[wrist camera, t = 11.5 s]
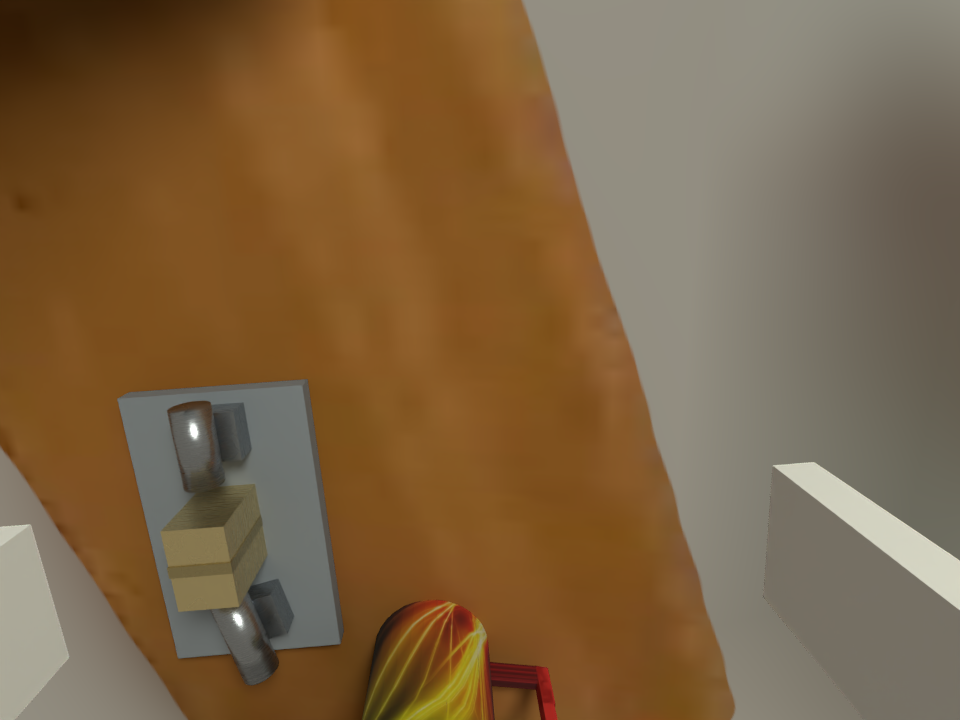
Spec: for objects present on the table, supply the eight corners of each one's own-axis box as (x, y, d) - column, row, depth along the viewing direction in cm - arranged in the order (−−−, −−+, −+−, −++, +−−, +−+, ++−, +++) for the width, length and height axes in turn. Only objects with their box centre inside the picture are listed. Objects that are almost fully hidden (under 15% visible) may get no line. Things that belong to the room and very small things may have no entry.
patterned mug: (547, 664, 49) (577, 803, 38) (396, 707, 49) (379, 858, 38) (518, 572, 47) (540, 689, 35) (359, 618, 47) (328, 749, 35)
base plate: (129, 392, 41) (117, 398, 40) (307, 379, 42) (302, 385, 40) (186, 644, 47) (178, 658, 45) (343, 630, 47) (340, 644, 46)
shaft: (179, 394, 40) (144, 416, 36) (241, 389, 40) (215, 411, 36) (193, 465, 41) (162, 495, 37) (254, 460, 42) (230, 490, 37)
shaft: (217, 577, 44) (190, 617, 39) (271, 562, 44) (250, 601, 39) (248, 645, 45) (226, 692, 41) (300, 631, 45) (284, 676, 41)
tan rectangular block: (268, 554, 44) (239, 607, 38) (214, 558, 43) (176, 613, 37) (255, 483, 42) (223, 527, 36) (200, 488, 42) (158, 532, 36)
